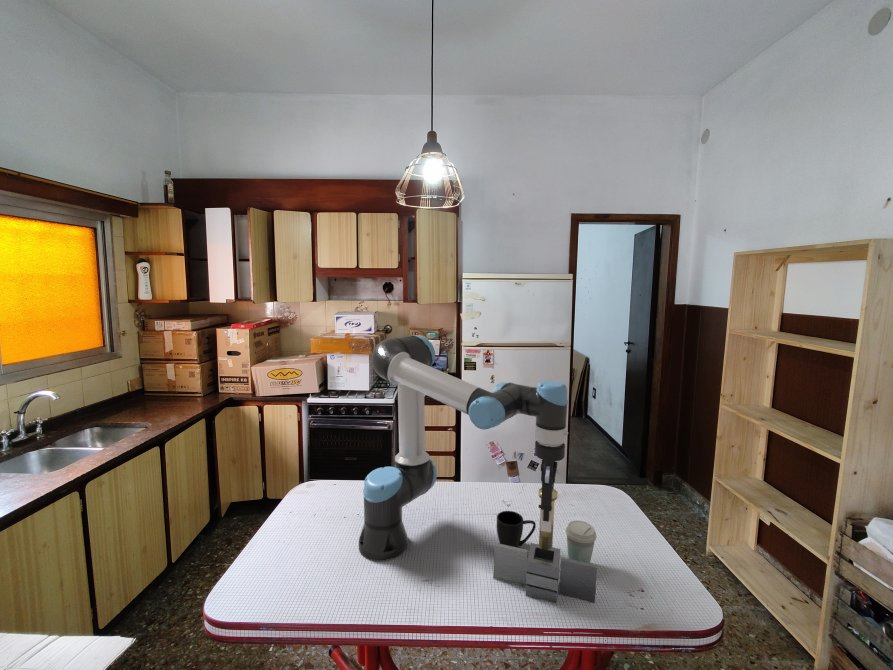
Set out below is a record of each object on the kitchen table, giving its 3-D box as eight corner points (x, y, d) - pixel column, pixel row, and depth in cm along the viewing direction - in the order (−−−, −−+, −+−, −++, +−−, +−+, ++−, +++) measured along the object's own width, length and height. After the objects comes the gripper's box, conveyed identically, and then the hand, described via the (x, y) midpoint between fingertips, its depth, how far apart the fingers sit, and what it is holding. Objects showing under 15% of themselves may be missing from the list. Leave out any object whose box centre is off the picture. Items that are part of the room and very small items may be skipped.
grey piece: (490, 586, 111) (491, 553, 110) (496, 567, 119) (497, 535, 117) (556, 603, 106) (558, 568, 104) (558, 582, 113) (560, 549, 112)
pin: (535, 548, 107) (537, 494, 105) (537, 538, 112) (539, 485, 110) (554, 552, 106) (556, 497, 104) (555, 541, 110) (558, 488, 108)
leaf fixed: (525, 595, 108) (527, 561, 107) (529, 575, 116) (530, 542, 114) (595, 613, 103) (597, 577, 102) (594, 590, 110) (596, 556, 109)
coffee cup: (574, 578, 115) (576, 538, 113) (558, 558, 123) (560, 521, 122) (600, 573, 117) (603, 534, 116) (582, 553, 125) (585, 517, 124)
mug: (535, 557, 123) (536, 528, 122) (495, 553, 125) (496, 524, 124) (533, 540, 131) (534, 512, 130) (496, 536, 133) (497, 509, 132)
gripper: (563, 456, 96) (559, 548, 99) (566, 432, 112) (562, 512, 115) (531, 451, 99) (528, 541, 102) (538, 429, 114) (535, 507, 117)
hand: (546, 526), depth 108 cm, fingers closed on pin, 3 cm apart
